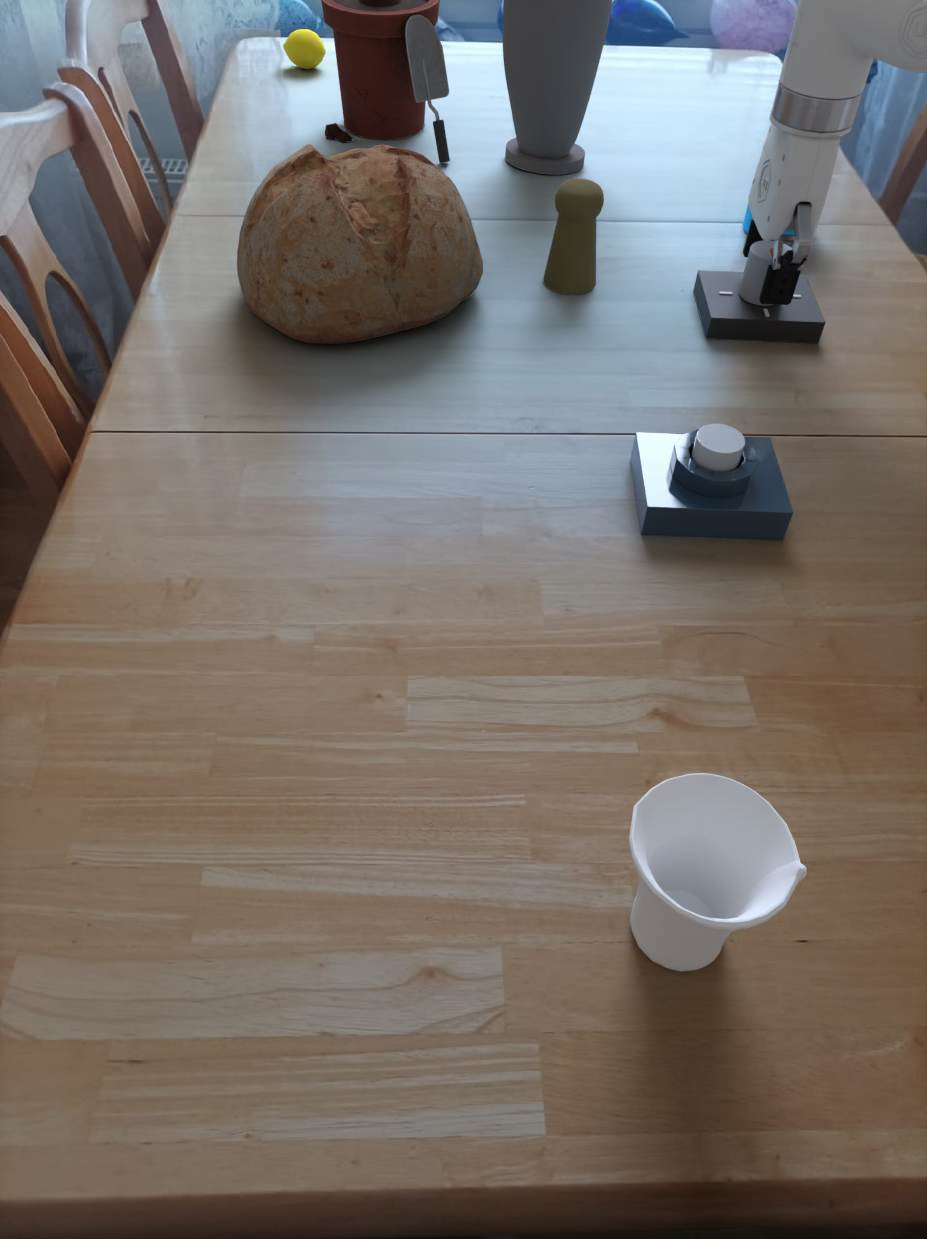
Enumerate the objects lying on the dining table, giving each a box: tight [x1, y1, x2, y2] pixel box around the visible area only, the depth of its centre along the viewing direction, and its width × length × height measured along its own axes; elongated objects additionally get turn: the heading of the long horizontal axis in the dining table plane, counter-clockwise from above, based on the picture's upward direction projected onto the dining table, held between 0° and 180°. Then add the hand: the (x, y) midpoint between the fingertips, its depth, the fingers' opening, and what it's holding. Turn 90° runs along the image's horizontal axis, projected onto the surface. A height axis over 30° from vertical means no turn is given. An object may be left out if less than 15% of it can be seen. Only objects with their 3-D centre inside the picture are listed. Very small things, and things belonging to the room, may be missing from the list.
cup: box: [628, 772, 808, 972], centre depth 52 cm, size 9×9×10 cm
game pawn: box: [542, 177, 605, 296], centre depth 103 cm, size 6×6×11 cm
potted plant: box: [320, 0, 451, 164], centre depth 124 cm, size 18×22×25 cm
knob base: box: [693, 269, 827, 344], centre depth 102 cm, size 12×10×3 cm
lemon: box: [282, 28, 326, 70], centre depth 147 cm, size 7×5×5 cm
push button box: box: [629, 428, 794, 542], centre depth 80 cm, size 12×10×5 cm
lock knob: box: [739, 241, 792, 306], centre depth 99 cm, size 5×5×5 cm
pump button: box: [692, 423, 745, 472], centre depth 78 cm, size 4×4×2 cm
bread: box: [236, 143, 484, 345], centre depth 98 cm, size 26×23×15 cm
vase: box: [502, 0, 613, 176], centre depth 115 cm, size 13×13×35 cm
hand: (765, 279), depth 99 cm, fingers open, 9 cm apart
